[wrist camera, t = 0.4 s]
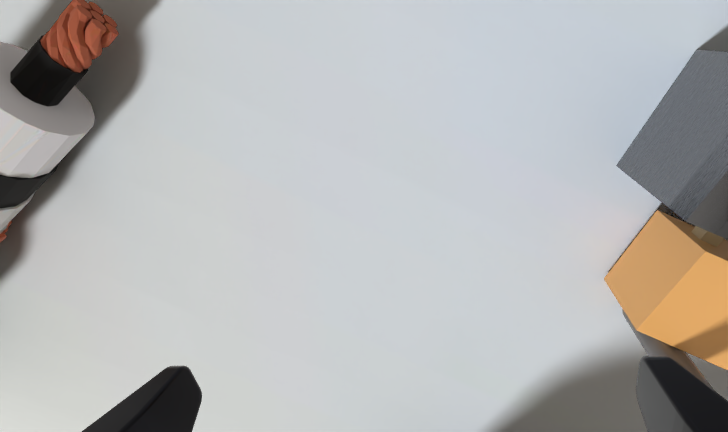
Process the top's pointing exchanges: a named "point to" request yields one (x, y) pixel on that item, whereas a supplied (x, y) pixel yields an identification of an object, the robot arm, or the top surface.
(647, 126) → the housing
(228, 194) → the top surface
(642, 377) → the robot arm
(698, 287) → the plug
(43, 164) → the striped tapered cylinder
